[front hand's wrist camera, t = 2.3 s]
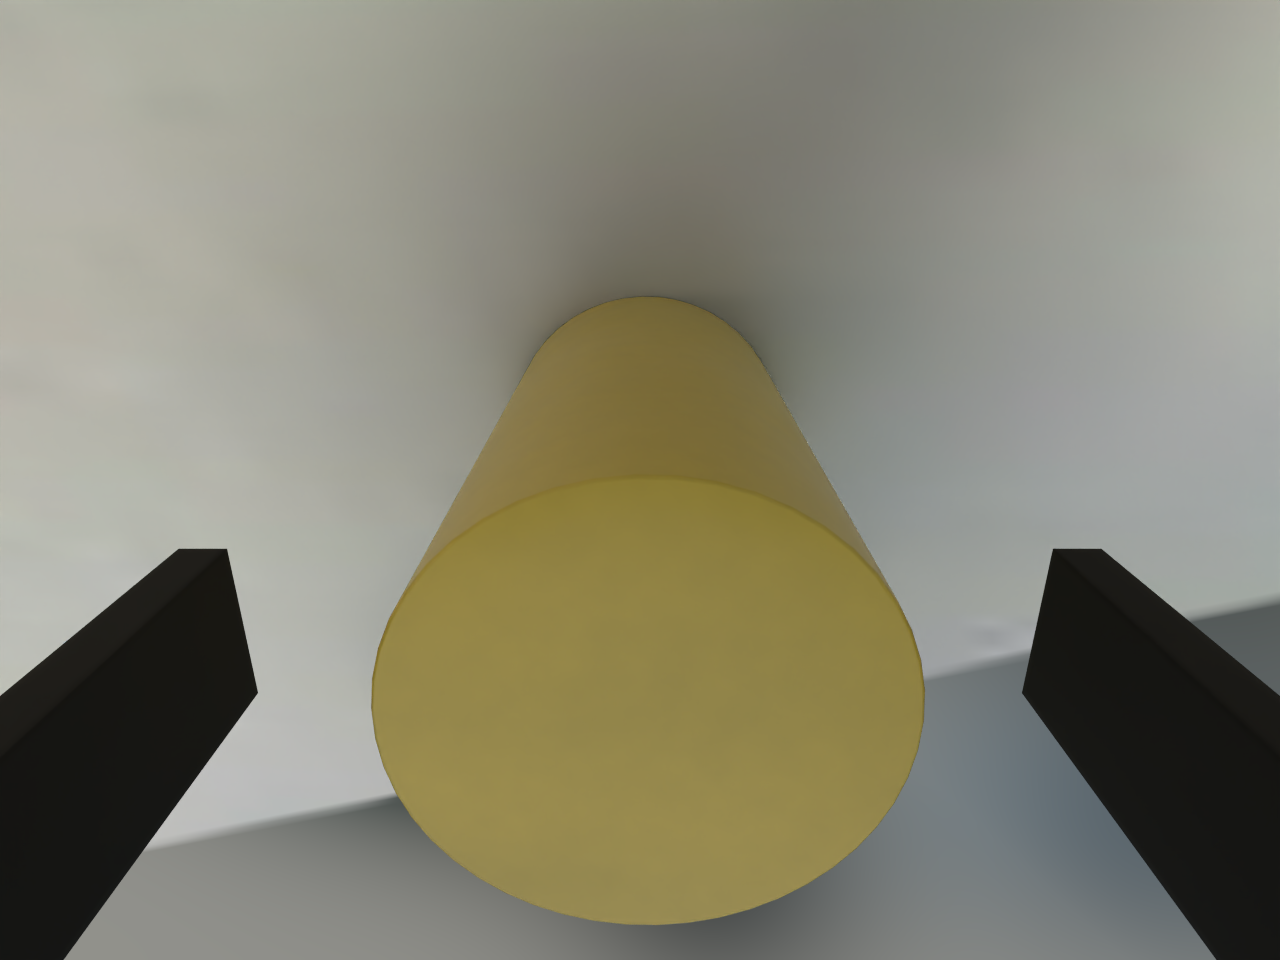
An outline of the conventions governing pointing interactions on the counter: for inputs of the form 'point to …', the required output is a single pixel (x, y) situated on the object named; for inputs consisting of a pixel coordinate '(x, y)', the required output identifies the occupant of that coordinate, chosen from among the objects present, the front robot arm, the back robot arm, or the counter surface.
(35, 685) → the front robot arm
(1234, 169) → the counter surface
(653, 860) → the tin
